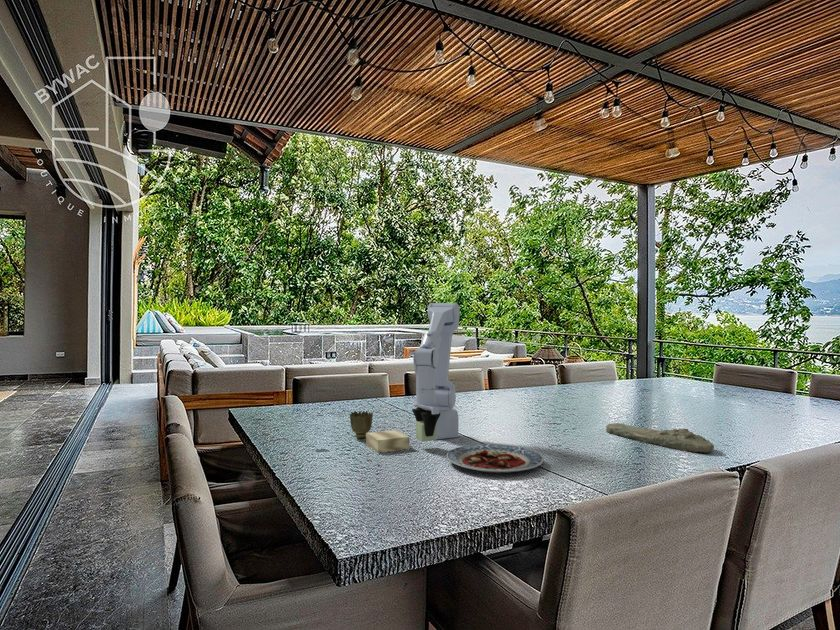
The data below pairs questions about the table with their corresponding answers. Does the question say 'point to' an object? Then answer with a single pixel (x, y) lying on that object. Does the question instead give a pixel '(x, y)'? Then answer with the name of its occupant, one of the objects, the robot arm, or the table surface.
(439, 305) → the robot arm
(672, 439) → the elongated rock
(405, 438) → the birch block
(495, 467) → the ceramic plate
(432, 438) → the green block
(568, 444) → the table surface
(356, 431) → the cup
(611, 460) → the table surface
